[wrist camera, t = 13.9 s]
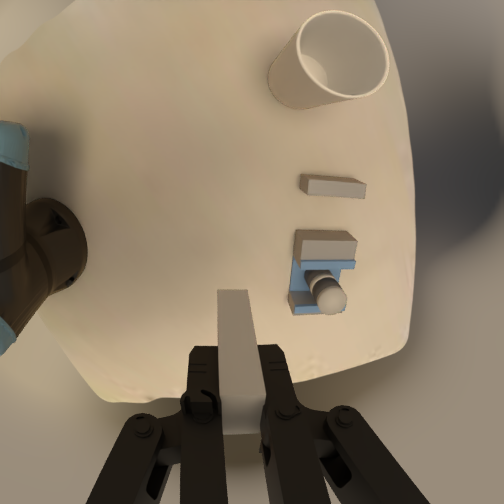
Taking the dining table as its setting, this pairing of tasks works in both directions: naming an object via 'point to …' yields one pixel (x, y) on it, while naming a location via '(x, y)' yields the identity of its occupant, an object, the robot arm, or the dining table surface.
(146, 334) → the dining table surface
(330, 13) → the cup
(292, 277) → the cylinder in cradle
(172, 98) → the dining table surface
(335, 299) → the plug
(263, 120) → the dining table surface
